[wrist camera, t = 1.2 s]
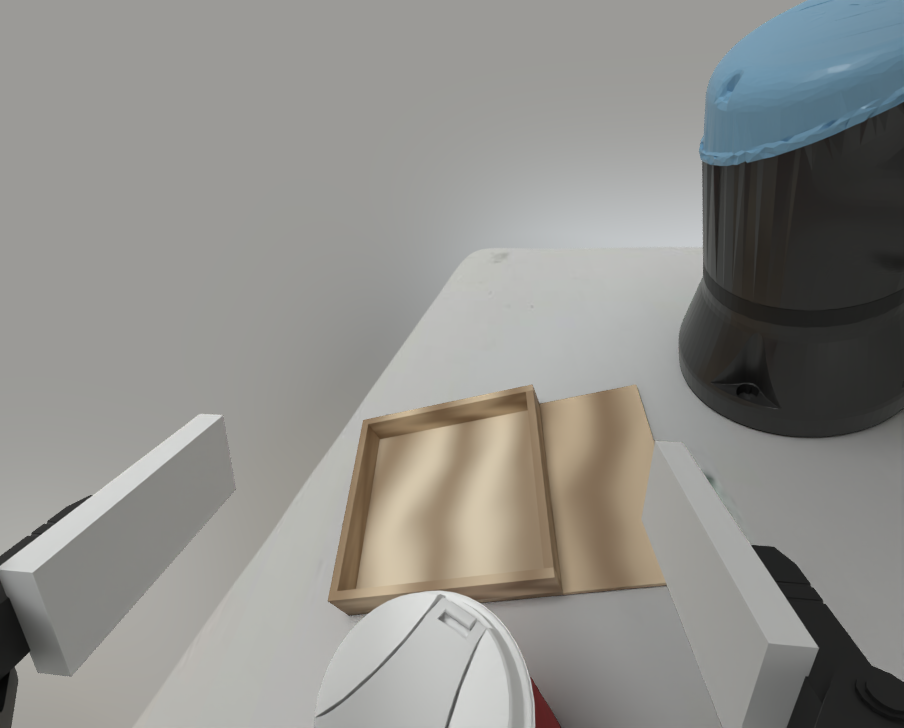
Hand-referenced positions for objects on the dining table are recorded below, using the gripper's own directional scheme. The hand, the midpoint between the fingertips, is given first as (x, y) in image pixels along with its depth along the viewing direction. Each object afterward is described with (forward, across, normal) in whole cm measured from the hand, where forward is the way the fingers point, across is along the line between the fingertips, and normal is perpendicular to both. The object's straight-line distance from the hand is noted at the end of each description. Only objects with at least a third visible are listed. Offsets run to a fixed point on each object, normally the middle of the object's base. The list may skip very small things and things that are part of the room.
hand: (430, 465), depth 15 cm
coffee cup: (+5, +4, -22) cm, 22 cm away
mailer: (+19, +3, -15) cm, 24 cm away
